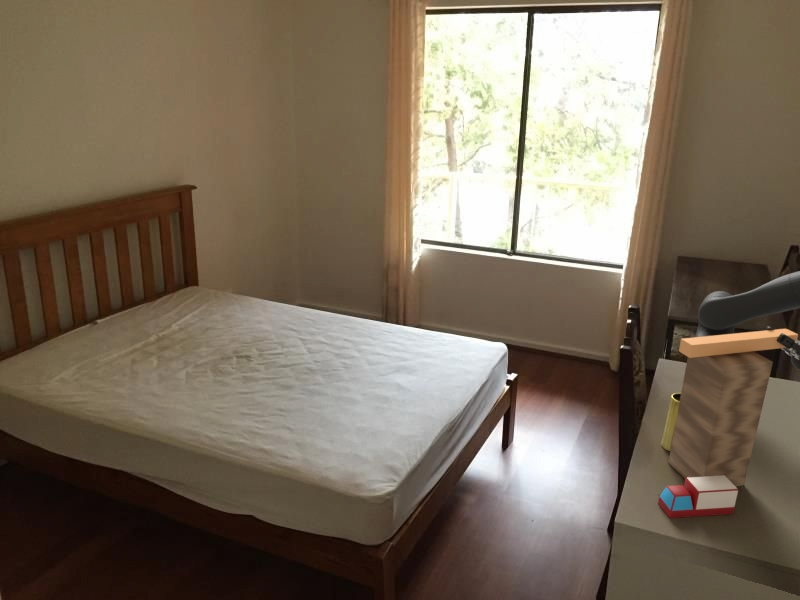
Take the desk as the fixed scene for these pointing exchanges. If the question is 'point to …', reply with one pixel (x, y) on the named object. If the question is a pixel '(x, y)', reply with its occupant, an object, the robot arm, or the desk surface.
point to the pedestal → (719, 415)
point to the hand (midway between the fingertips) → (773, 333)
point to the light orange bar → (733, 343)
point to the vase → (671, 421)
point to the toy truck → (699, 497)
